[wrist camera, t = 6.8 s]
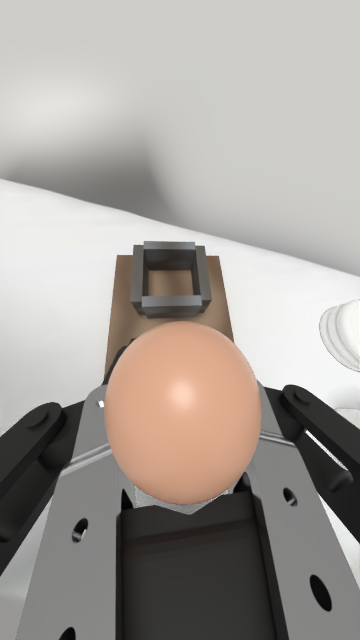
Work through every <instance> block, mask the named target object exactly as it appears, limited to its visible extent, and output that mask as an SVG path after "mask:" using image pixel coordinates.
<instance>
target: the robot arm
mask: <svg viewBox="0 0 360 640" xmlns="http://www.w3.org/2000/svg"><path fill="white" fill-rule="evenodd" d="M135 339H136V338H131V340H130V343H129V345H130V344H131V343H132V342H133V341H134V340H135ZM129 345H128V346H129ZM128 346H123V347H122V348H121V349H120V350H119V351H118V352H117V354H116V356H115V359H114V360H113V362H112V364H111V366H110V369H109V371H108V373H107V375H106V377H105V379H104V381H103V383H102V385H101V386H100V387H98V388H96V389H95V390H93V391H92V392H91V393H90V394H89V395H88V397H87V398H86V400H84V401H81V402H79V403H76V404H73V405H70V406H67V407H65V408H62V407H61V406H60V404H58V403H55V402H50V403H46V404H43V405H41V406H38V407H37V408H35V409H33V410H32V411H30V412H29V413H27V414H26V415H25V416H24V417H23V418H21V419H20V420H19V421H18V422H17V423H16V424H15V425H14V426H12V427H11V428H10V429H9V430H8V431H7V432H6V433H5V434H3V435H2V436H1V437H0V576H1V575H2V573H3V572H4V570H5V568H6V567H7V565H8V564H9V562H10V561H11V559H12V558H13V556H14V555H15V553H16V551H17V550H18V548H19V547H20V545H21V544H22V542H23V541H24V539H25V537H26V536H27V534H28V533H29V531H30V530H31V528H32V527H33V525H34V524H35V522H36V520H37V519H38V517H39V516H40V514H41V513H42V511H43V510H44V508H45V507H46V505H47V503H48V502H49V500H50V499H51V497H52V496H53V498H52V502H51V506H50V510H49V514H48V517H47V521H46V525H45V529H44V533H43V537H42V540H41V544H40V548H39V552H38V556H37V559H36V563H35V567H34V571H33V575H32V579H31V582H30V586H29V590H28V594H27V598H26V601H25V605H24V609H23V613H22V617H21V621H20V625H19V628H18V632H17V636H16V640H360V589H359V587H358V585H357V583H356V580H355V578H354V576H353V573H352V571H351V569H350V566H349V564H348V562H347V560H346V557H345V555H344V553H343V550H342V548H341V546H340V544H339V541H338V539H337V537H336V534H335V532H334V530H333V528H332V525H331V523H330V521H329V518H328V516H327V514H326V512H325V509H324V507H323V505H322V502H321V500H320V498H319V496H318V494H319V495H320V496H321V497H322V498H323V500H324V501H325V502H326V503H327V505H328V506H329V507H330V508H331V509H332V511H333V512H334V513H335V514H336V516H337V517H338V518H339V519H340V520H341V522H342V523H343V524H344V525H345V526H346V528H347V529H348V530H349V531H350V533H351V534H352V535H353V536H354V537H355V539H356V540H357V541H358V542H359V544H360V429H359V428H357V427H356V426H355V425H353V424H352V423H351V422H349V421H348V420H347V419H345V418H344V417H343V416H341V415H340V414H339V413H337V412H336V411H335V410H333V409H332V408H331V407H329V406H328V405H327V404H325V403H324V402H323V401H321V400H320V399H319V398H317V397H316V396H315V395H313V394H312V393H310V392H309V391H308V390H306V389H304V388H302V387H299V386H296V385H286V386H285V387H284V388H283V390H282V391H281V390H276V389H271V388H267V387H263V386H262V384H261V383H260V382H259V381H258V380H257V384H258V387H259V391H260V398H261V409H262V420H261V430H260V436H259V440H258V444H257V447H256V450H255V452H254V455H253V457H252V459H251V461H250V463H249V465H248V466H247V468H246V470H245V471H244V473H243V474H242V475H241V476H240V477H239V479H238V480H237V481H236V482H235V483H234V484H233V485H232V486H231V487H230V488H228V494H226V495H221V496H219V497H218V498H216V499H215V500H213V501H212V502H210V503H209V504H207V505H206V506H204V507H203V508H201V509H200V510H198V511H197V512H195V513H193V514H191V515H186V514H183V513H180V512H176V511H173V510H170V509H166V508H163V507H160V506H156V505H153V506H146V507H139V508H136V497H135V487H134V484H133V483H132V482H131V481H130V479H129V478H128V477H127V476H126V475H125V474H124V472H123V471H122V469H121V468H120V467H119V465H118V463H117V461H116V459H115V457H114V455H113V453H112V450H111V447H110V445H109V442H108V438H107V433H106V428H105V419H104V403H105V396H106V389H107V386H108V382H109V379H110V376H111V374H112V371H113V369H114V367H115V365H116V363H117V361H118V360H119V358H120V356H121V355H122V354H123V352H124V351H125V349H126V348H127V347H128ZM306 430H308V431H309V432H310V433H311V434H312V435H313V436H314V437H315V438H316V439H317V440H318V441H319V442H320V443H321V444H322V445H323V446H325V447H326V448H327V449H328V450H329V451H330V452H331V453H332V454H333V455H334V456H335V457H336V458H337V459H338V460H339V461H340V462H341V463H342V464H343V465H344V466H345V467H346V468H347V469H348V470H349V471H347V470H345V469H343V468H342V467H340V466H339V465H338V464H337V463H336V462H335V461H334V460H333V459H332V458H331V457H330V456H329V455H328V454H327V453H326V452H325V451H324V450H323V449H322V448H321V447H320V446H319V445H318V444H317V443H316V442H315V441H313V440H312V439H311V438H310V437H309V436H308V435H307V434H306V433H305V432H306ZM317 492H318V493H317ZM53 494H54V495H53ZM85 529H86V530H87V532H86V534H85V536H84V537H83V539H82V540H81V536H82V533H83V531H84V530H85Z"/></svg>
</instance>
